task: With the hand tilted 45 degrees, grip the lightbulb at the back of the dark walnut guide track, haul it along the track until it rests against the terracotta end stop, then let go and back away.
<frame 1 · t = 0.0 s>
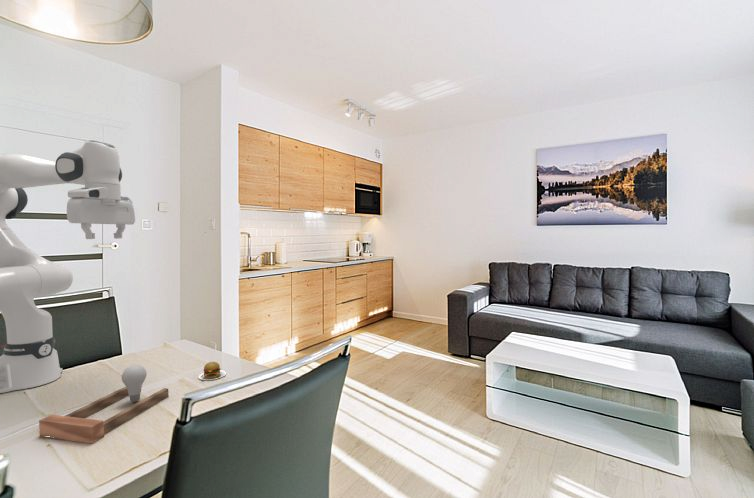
hand: (104, 238, 114), 48 cm above the table, tool pointing down, fingers open, 8 cm apart
guide track: (117, 411, 102), on the table
lightbulb: (135, 402, 108), on the table
hamburger: (212, 378, 128), on the table
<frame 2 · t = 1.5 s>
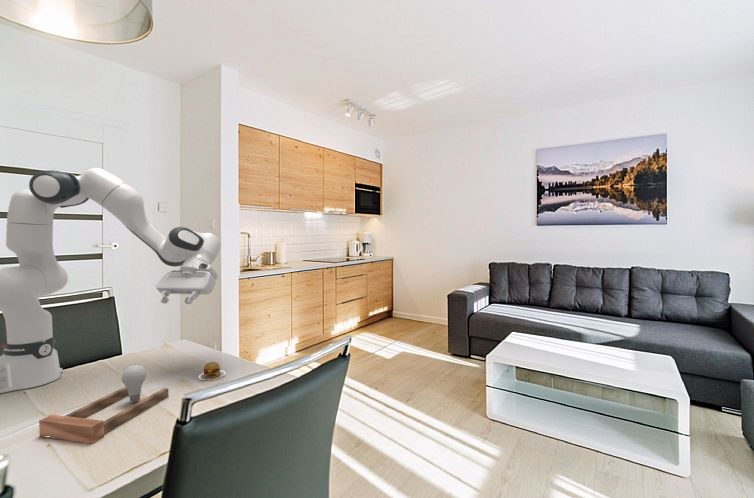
hand: (175, 302, 123), 26 cm above the table, tool tilted 45°, fingers open, 8 cm apart
nothing on the table moved.
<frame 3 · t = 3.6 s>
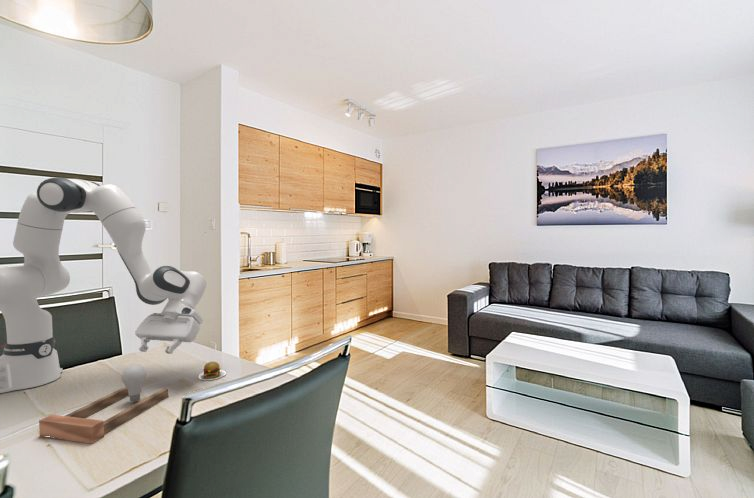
hand: (155, 351, 115), 12 cm above the table, tool tilted 45°, fingers open, 8 cm apart
nothing on the table moved.
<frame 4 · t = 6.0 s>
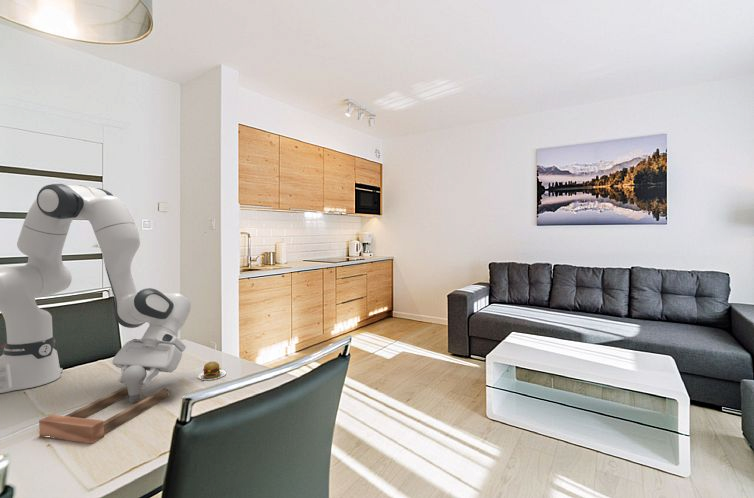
hand: (132, 383, 107), 6 cm above the table, tool tilted 45°, fingers closed on lightbulb, 6 cm apart
lightbulb: (135, 402, 108), on the table, touching gripper
everything else where it was.
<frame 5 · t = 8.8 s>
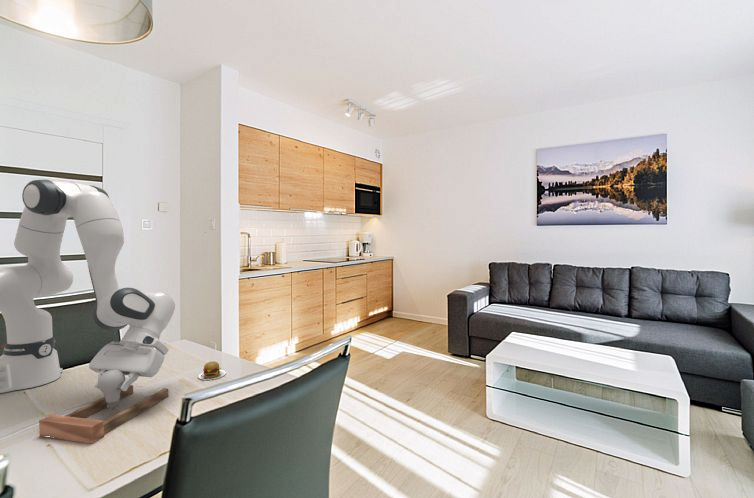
hand: (109, 389, 100), 7 cm above the table, tool tilted 45°, fingers closed on lightbulb, 6 cm apart
lightbulb: (113, 410, 101), point 1 cm above the table, touching gripper
everything else where it was.
when the fingers open (6 cm above the table, at t = 11.6 s): lightbulb stays where it is, on the table.
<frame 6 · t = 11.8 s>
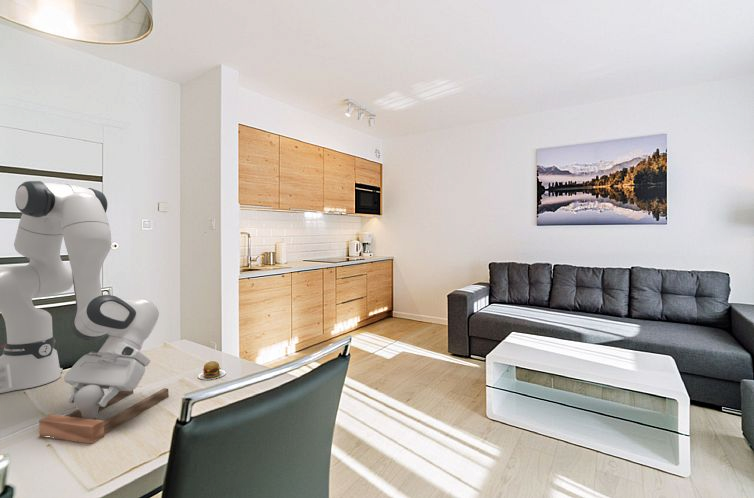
hand: (85, 404, 93), 6 cm above the table, tool tilted 45°, fingers open, 7 cm apart
lightbulb: (90, 428, 94), on the table, touching gripper
everything else where it was.
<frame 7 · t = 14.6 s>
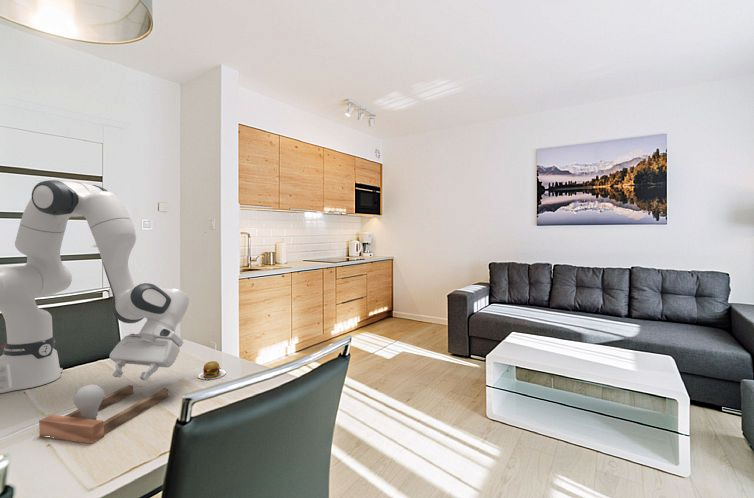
hand: (129, 377, 107), 8 cm above the table, tool tilted 45°, fingers open, 8 cm apart
lightbulb: (90, 428, 94), on the table
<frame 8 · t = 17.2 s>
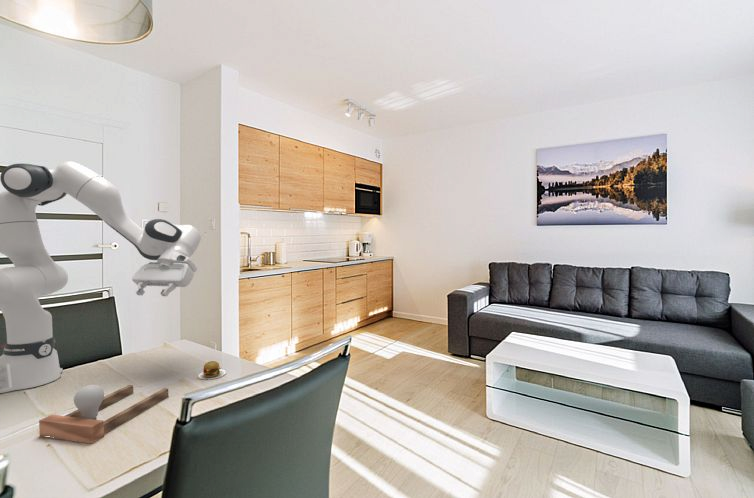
hand: (150, 294, 121), 29 cm above the table, tool tilted 45°, fingers open, 8 cm apart
at the end: lightbulb 0.7 cm from the target spot, on the table; lightbulb tilted 0°; the gripper is holding nothing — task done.
